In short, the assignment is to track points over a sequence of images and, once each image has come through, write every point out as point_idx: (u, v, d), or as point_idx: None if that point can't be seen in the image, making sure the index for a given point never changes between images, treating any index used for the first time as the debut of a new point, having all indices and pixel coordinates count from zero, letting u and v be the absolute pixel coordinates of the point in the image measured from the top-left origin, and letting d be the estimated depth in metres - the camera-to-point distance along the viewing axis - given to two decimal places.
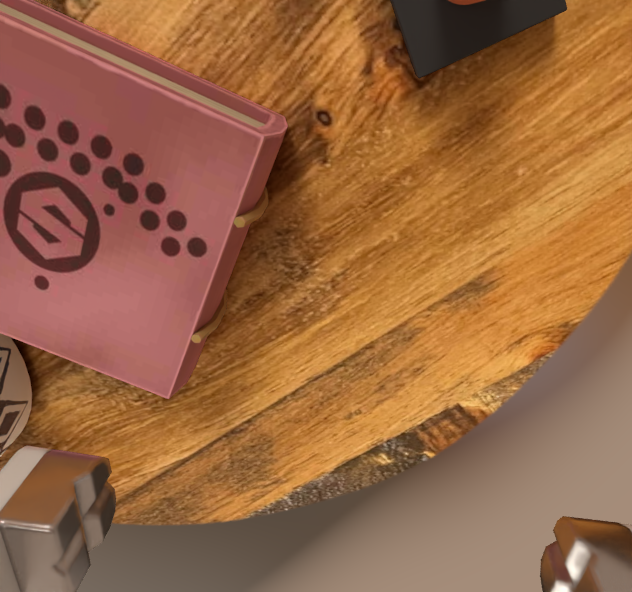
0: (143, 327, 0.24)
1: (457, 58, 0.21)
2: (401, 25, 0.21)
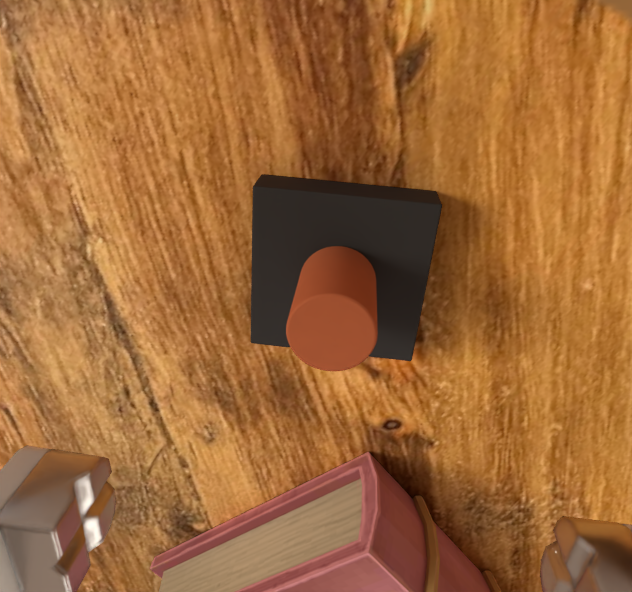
0: None
1: (416, 322, 0.18)
2: None
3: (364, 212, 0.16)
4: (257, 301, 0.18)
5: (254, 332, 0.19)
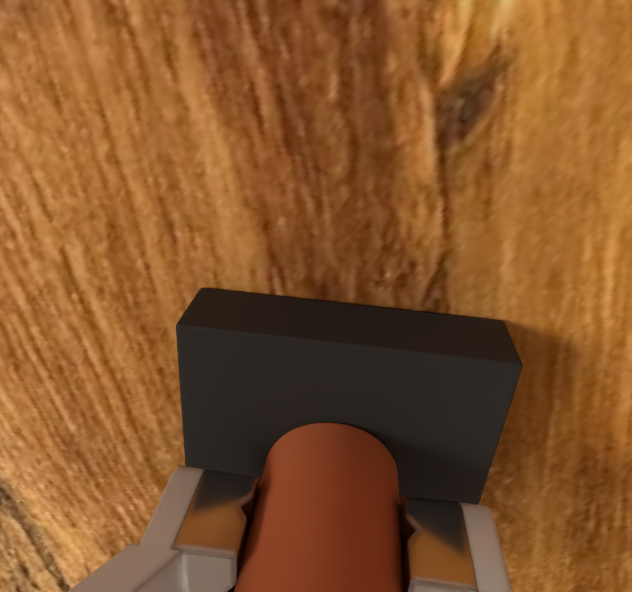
0: None
1: None
2: None
3: (378, 372, 0.09)
4: None
5: None
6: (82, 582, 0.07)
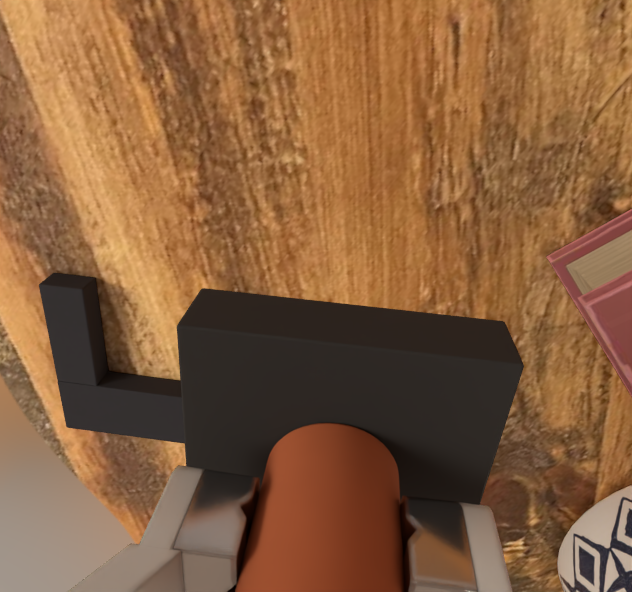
0: None
1: None
2: None
3: (379, 373, 0.09)
4: None
5: None
6: (82, 582, 0.07)
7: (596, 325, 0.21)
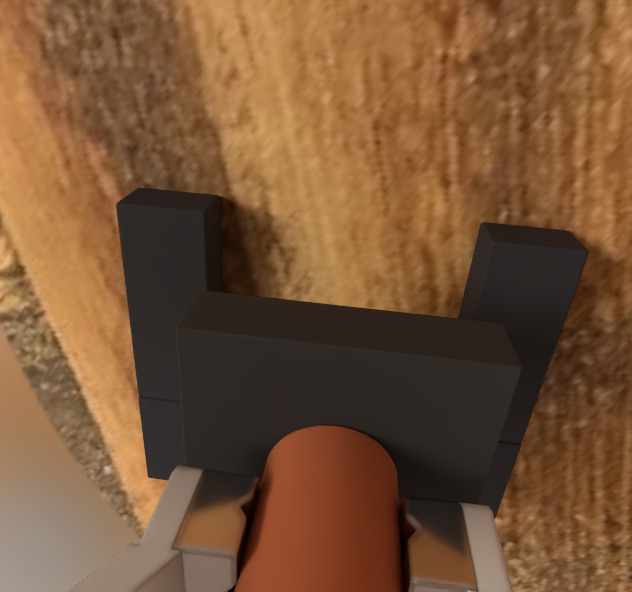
0: None
1: None
2: None
3: (378, 375, 0.09)
4: None
5: None
6: (82, 582, 0.07)
7: None
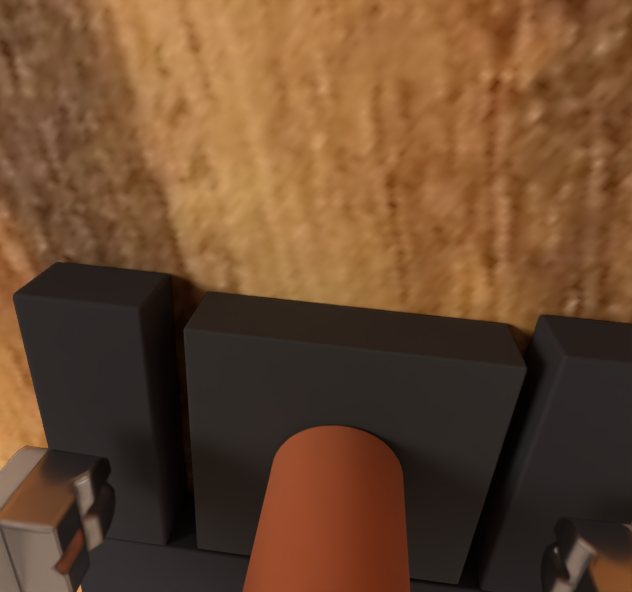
0: None
1: (470, 535, 0.11)
2: None
3: (384, 375, 0.09)
4: (203, 495, 0.11)
5: (202, 535, 0.12)
6: None
7: None
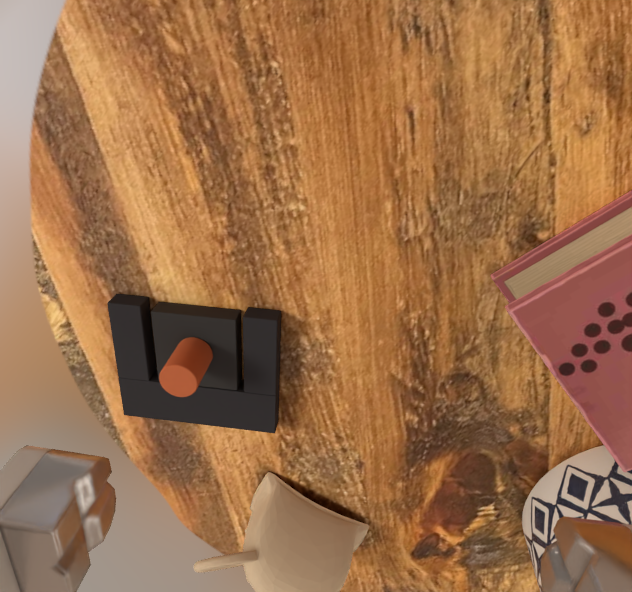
0: None
1: (235, 371, 0.37)
2: (208, 386, 0.38)
3: (202, 323, 0.35)
4: (159, 361, 0.37)
5: None
6: None
7: (518, 326, 0.29)
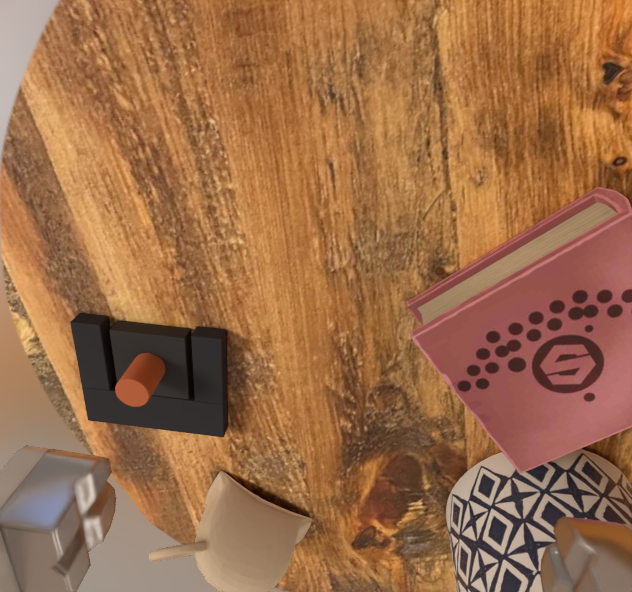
0: None
1: (186, 383, 0.41)
2: (163, 395, 0.42)
3: (155, 340, 0.40)
4: (118, 373, 0.41)
5: None
6: None
7: (421, 349, 0.33)
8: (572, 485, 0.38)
